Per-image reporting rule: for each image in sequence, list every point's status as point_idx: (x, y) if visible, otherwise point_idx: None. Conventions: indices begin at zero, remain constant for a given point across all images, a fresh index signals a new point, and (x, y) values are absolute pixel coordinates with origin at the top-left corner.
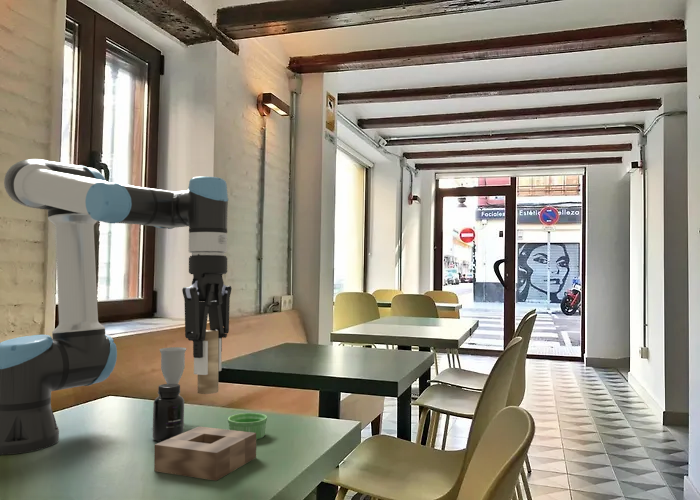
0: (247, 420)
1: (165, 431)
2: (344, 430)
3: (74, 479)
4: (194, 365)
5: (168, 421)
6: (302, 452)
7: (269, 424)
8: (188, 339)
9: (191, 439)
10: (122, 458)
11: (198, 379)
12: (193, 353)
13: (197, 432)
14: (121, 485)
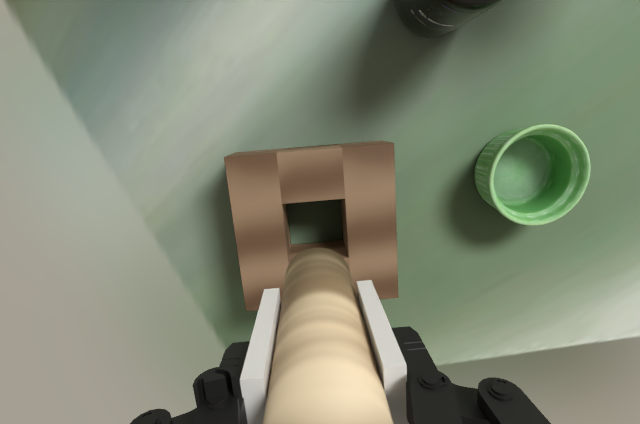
0: (564, 151)
1: (407, 11)
2: (613, 330)
3: (119, 37)
4: (259, 308)
5: (419, 9)
6: (448, 330)
7: (620, 159)
8: (201, 375)
9: (297, 202)
10: (262, 20)
11: (285, 284)
12: (223, 358)
13: (346, 178)
14: (151, 154)
